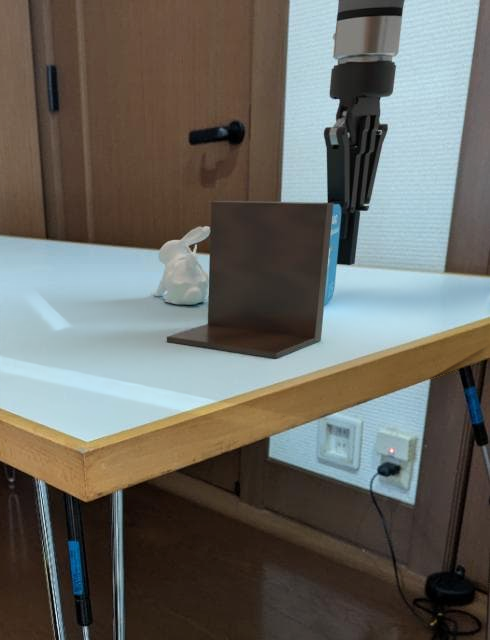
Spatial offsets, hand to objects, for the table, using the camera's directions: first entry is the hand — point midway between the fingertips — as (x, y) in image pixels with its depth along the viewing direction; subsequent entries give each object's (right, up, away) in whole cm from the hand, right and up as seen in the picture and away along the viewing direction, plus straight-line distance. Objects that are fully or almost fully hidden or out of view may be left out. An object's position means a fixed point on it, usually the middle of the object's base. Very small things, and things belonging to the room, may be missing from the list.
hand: (342, 263), depth 108 cm
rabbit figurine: (-21, -4, +4) cm, 21 cm away
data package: (-6, -7, -4) cm, 10 cm away
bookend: (-17, -15, -19) cm, 30 cm away
